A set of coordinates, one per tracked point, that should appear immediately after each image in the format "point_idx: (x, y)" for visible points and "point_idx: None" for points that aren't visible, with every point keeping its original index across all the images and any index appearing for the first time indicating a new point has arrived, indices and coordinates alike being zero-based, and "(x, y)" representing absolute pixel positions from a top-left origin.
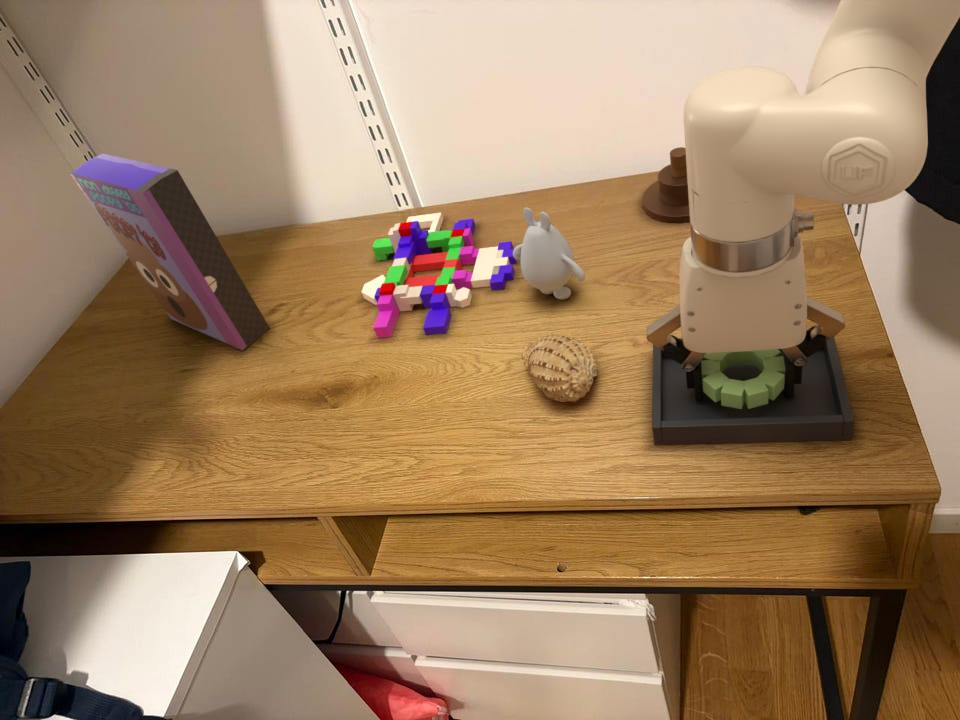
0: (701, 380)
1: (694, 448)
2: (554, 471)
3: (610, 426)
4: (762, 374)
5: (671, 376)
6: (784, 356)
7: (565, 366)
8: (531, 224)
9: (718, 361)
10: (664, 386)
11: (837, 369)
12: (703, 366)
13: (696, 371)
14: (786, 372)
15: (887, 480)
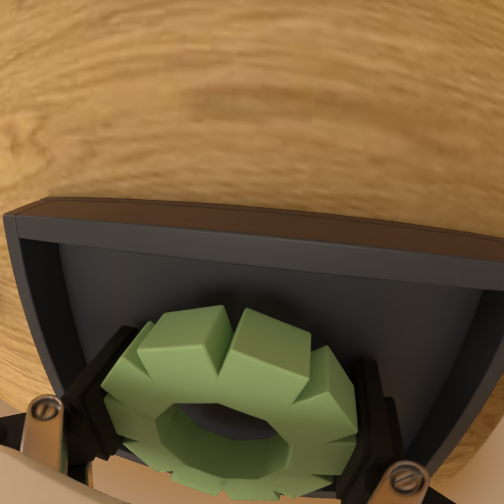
0: (122, 438)
1: None
2: (14, 391)
3: (33, 355)
4: (274, 477)
5: (80, 286)
6: (350, 478)
7: None
8: None
9: (151, 420)
10: (74, 311)
11: (470, 415)
12: (114, 419)
13: (99, 456)
14: (336, 489)
15: None
